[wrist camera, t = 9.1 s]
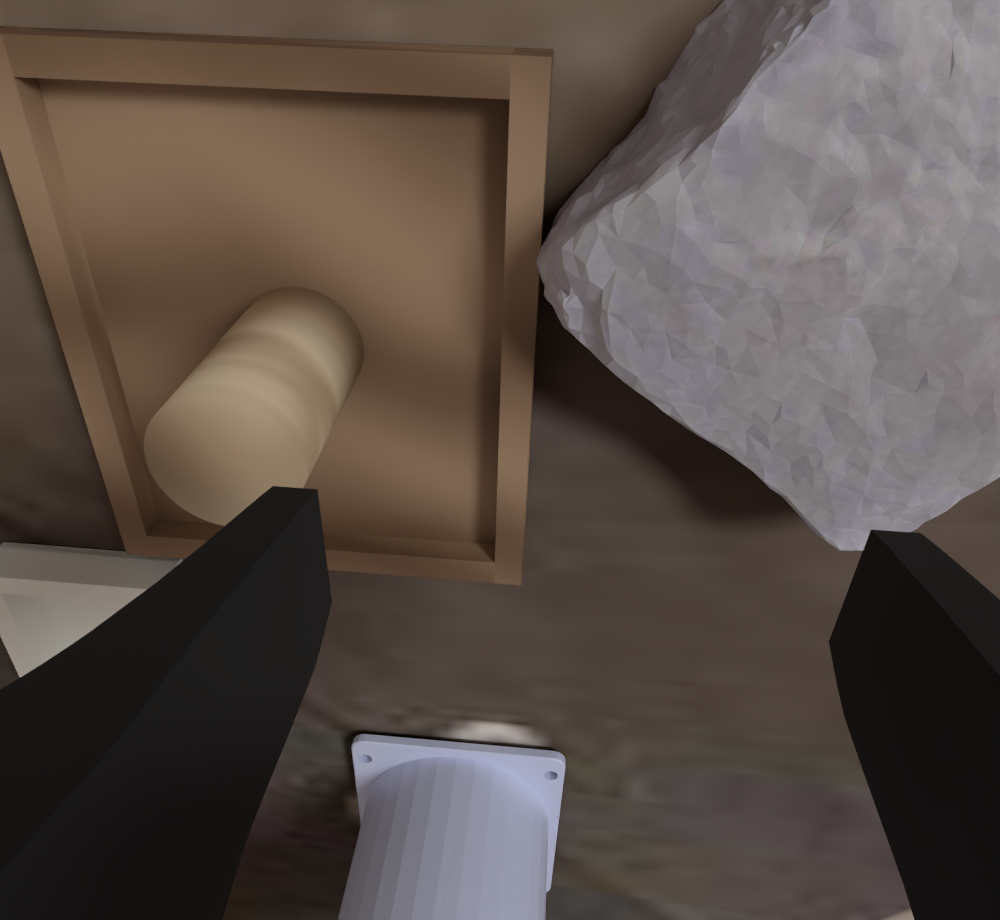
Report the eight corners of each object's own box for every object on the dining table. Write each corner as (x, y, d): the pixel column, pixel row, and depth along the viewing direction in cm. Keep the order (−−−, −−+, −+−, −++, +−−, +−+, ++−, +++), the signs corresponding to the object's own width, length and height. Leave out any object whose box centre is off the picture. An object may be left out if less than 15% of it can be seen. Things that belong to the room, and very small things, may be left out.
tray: (523, 558, 24) (520, 585, 23) (144, 529, 25) (126, 554, 24) (553, 49, 16) (552, 57, 15) (-1, 26, 17) (-37, 31, 16)
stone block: (800, -132, 16) (498, 262, 19) (934, -207, 12) (515, 318, 15) (1112, 232, 20) (818, 511, 23) (1299, 276, 16) (906, 613, 19)
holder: (214, 680, 29) (197, 716, 27) (55, 666, 29) (31, 702, 28) (182, 555, 25) (160, 590, 24) (3, 541, 26) (-29, 575, 24)
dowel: (366, 404, 21) (308, 534, 17) (249, 394, 21) (160, 520, 17) (361, 292, 19) (295, 403, 15) (233, 281, 19) (128, 388, 15)
